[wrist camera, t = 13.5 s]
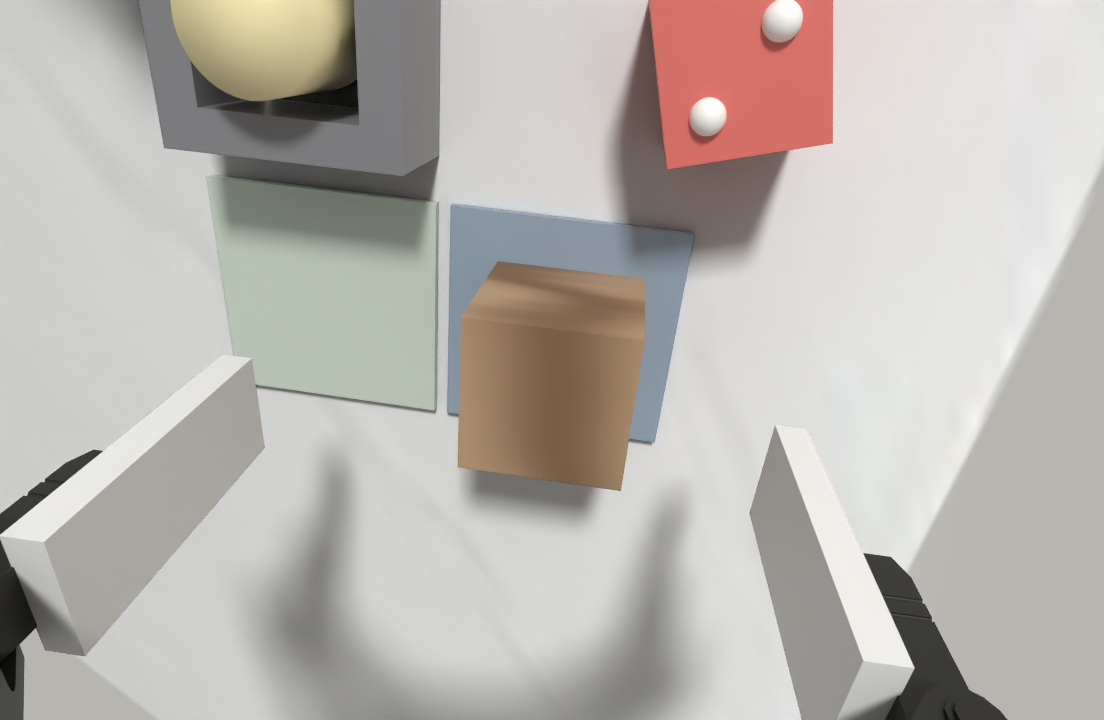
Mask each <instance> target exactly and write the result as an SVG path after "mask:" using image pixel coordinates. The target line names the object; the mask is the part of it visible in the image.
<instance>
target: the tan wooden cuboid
mask: <svg viewBox="0 0 1104 720" xmlns="http://www.w3.org/2000/svg"><path fill="white" fill-rule="evenodd" d="M644 344H645V279H642V278H634V277H626V276H618V275H609V274H601V273H593V272H584V271H576V270H568V269H560V268H551V267H543V266H535V265H526V264H518V263H510V262H501V261H498V262H497V263H496V265H495V266H494V268H493V269H492V271H491V272H490V274H489V275H488V277H487V278H486V280H485V281H484V283H483V284H482V286H481V287H480V289H479V290H478V292H477V293H476V295H475V296H474V298H473V299H472V301H471V303H470V304H469V306H468V307H467V309H466V310H465V312H464V313H463V315H462V316H461V335H460V383H459V432H458V467H460V468H467V469H474V470H480V471H487V472H494V473H501V474H508V475H515V476H522V477H528V478H535V479H542V480H549V481H556V482H563V483H570V484H576V485H583V486H590V487H597V488H604V489H611V490H617V491H621V485H622V479H623V473H624V467H625V461H626V455H627V448H628V442H629V436H630V430H631V424H632V418H633V412H634V405H635V399H636V393H637V387H638V381H639V375H640V368H641V362H642V356H643V350H644Z"/></svg>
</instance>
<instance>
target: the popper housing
mask: <svg viewBox="0 0 1104 720" xmlns="http://www.w3.org/2000/svg"><path fill="white" fill-rule="evenodd" d="M138 2H139V7H140V13H141V19H142V24H143V30H144V36H145V42H146V47H147V53H148V59H149V64H150V70H151V76H152V82H153V87H154V93H155V99H156V104H157V110H158V116H159V121H160V127H161V133H162V139H163V144H164V148H168V149H177V150H185V151H194V152H202V153H211V154H219V155H228V156H236V157H245V158H253V159H262V160H270V161H279V162H287V163H296V164H304V165H313V166H321V167H330V168H338V169H347V170H355V171H364V172H372V173H381V174H389V175H398V176H404V175H406V174H408V173H410V172H411V171H413V170H415V169H417V168H418V167H420V166H422V165H424V164H425V163H427V162H429V161H431V160H432V159H434V158H436V157H438V156H439V91H440V0H354V15H355V38H356V61H357V83H358V106H359V108H356V107H347V106H338V105H329V104H320V103H311V102H301V101H292V100H283V99H273V100H266V101H250V100H245V99H241V98H238V97H235V96H232V95H230V94H228V93H226V92H224V91H222V90H221V89H219V88H218V87H216V86H215V85H213V84H212V83H211V82H210V81H208V80H207V79H206V78H205V77H204V76H203V75H202V74H201V73H200V72H199V70H198V69H197V68H196V67H195V66H194V65H193V63H192V62H191V60H190V59H189V57H188V56H187V54H186V52H185V50H184V49H183V47H182V45H181V42H180V40H179V38H178V35H177V32H176V29H175V26H174V22H173V18H172V12H171V0H138Z"/></svg>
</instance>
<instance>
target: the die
mask: <svg viewBox="0 0 1104 720" xmlns="http://www.w3.org/2000/svg"><path fill="white" fill-rule="evenodd" d="M648 2H649V12H650V21H651V31H652V41H653V50H654V60H655V70H656V79H657V89H658V99H659V108H660V118H661V128H662V137H663V147H664V153H665V159H666V165H667V169H674V168H680V167H686V166H693V165H699V164H705V163H711V162H718V161H724V160H730V159H736V158H743V157H749V156H755V155H762V154H768V153H774V152H780V151H787V150H793V149H799V148H806V147H812V146H818V145H824V144H831V143H833V0H649V1H648Z"/></svg>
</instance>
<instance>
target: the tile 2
mask: <svg viewBox="0 0 1104 720" xmlns="http://www.w3.org/2000/svg"><path fill="white" fill-rule="evenodd" d="M693 239H694V233H692V232H684V231H676V230H668V229H659V228H651V227H643V226H634V225H626V224H618V223H609V222H601V221H593V220H584V219H576V218H568V217H559V216H551V215H543V214H534V213H526V212H518V211H509V210H501V209H493V208H484V207H476V206H468V205H459V204H452V205H451V219H450V276H449V333H448V390H447V412H448V413H455V414H459V383H460V335H461V316H462V315H463V313H464V312H465V310H466V309H467V307H468V306H469V304H470V303H471V301H472V299H473V298H474V296H475V295H476V293H477V292H478V290H479V289H480V287H481V286H482V284H483V283H484V281H485V280H486V278H487V277H488V275H489V274H490V272H491V271H492V269H493V268H494V266H495V265H496V263H497V262H498V261H501V262H510V263H518V264H526V265H535V266H543V267H551V268H560V269H568V270H576V271H584V272H593V273H601V274H609V275H618V276H626V277H634V278H642V279H645V344H644V350H643V356H642V362H641V368H640V375H639V381H638V387H637V393H636V399H635V405H634V412H633V418H632V424H631V430H630V436H629V439H635V440H642V441H649V442H655V438H656V433H657V427H658V422H659V417H660V412H661V406H662V401H663V396H664V391H665V386H666V380H667V375H668V370H669V365H670V359H671V354H672V349H673V344H674V338H675V333H676V328H677V323H678V318H679V312H680V307H681V302H682V297H683V291H684V286H685V281H686V276H687V271H688V265H689V260H690V255H691V250H692V244H693Z"/></svg>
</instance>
